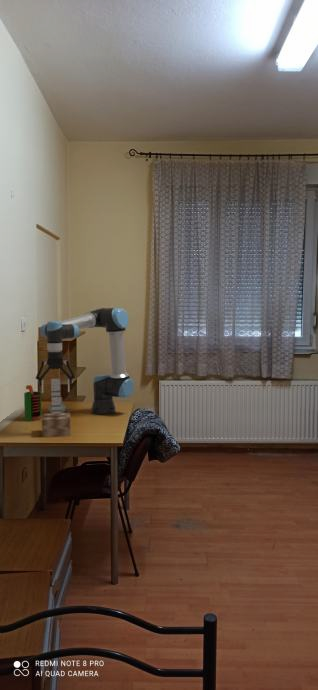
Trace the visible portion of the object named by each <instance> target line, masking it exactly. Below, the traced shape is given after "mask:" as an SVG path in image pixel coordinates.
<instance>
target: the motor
mask: <svg viewBox="0 0 318 690" xmlns="http://www.w3.org/2000/svg"><path fill="white" fill-rule="evenodd" d="M25 390H28V391H26V392H24V393H23V394H24V395H23V397H24V398H23V399H24V421H25V422H35V421H36V420H37V421H40V420H41V419H42V391H34V389H33V386H32V385H31V384H29V385H25ZM37 421H36V422H37Z"/></svg>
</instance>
